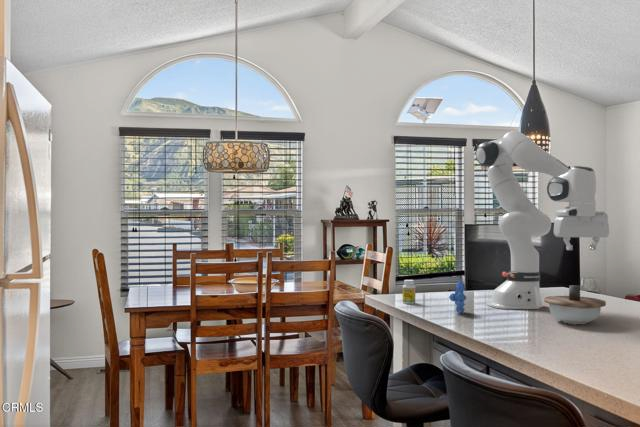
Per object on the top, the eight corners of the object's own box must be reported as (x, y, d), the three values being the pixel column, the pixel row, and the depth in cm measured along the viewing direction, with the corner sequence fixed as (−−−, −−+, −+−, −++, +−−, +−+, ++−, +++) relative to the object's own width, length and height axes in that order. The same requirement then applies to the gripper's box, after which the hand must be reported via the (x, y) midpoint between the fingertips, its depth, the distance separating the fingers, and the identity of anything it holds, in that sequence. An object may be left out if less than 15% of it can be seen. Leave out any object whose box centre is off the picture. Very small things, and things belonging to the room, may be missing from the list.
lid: (566, 308, 200) (567, 290, 200) (533, 299, 220) (533, 282, 220) (618, 306, 205) (619, 289, 204) (581, 297, 224) (581, 281, 224)
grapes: (448, 310, 236) (448, 279, 236) (465, 310, 235) (466, 280, 235) (448, 315, 225) (449, 283, 225) (467, 315, 223) (467, 283, 223)
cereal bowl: (538, 320, 217) (538, 300, 217) (573, 316, 223) (573, 298, 223) (575, 328, 201) (575, 307, 201) (611, 325, 208) (611, 305, 208)
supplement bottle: (416, 302, 255) (416, 279, 255) (414, 304, 250) (414, 281, 250) (403, 301, 256) (403, 279, 256) (401, 303, 251) (401, 280, 251)
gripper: (602, 211, 219) (601, 249, 219) (551, 211, 215) (550, 249, 215) (613, 211, 213) (612, 250, 213) (561, 211, 209) (561, 250, 209)
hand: (581, 250), depth 214 cm, fingers open, 8 cm apart
